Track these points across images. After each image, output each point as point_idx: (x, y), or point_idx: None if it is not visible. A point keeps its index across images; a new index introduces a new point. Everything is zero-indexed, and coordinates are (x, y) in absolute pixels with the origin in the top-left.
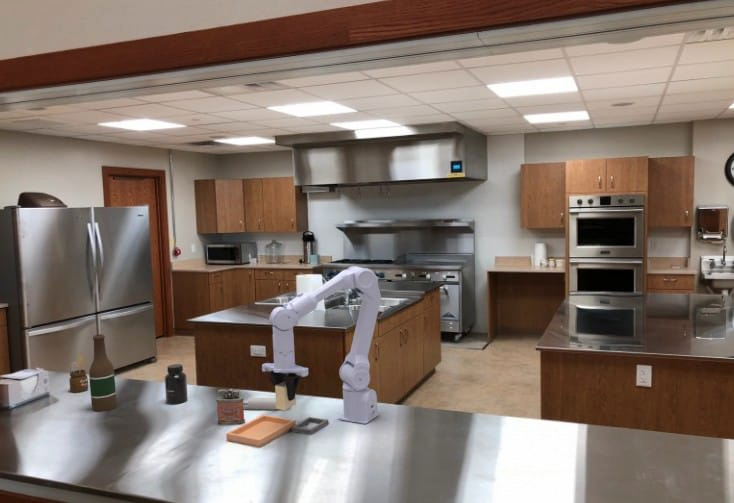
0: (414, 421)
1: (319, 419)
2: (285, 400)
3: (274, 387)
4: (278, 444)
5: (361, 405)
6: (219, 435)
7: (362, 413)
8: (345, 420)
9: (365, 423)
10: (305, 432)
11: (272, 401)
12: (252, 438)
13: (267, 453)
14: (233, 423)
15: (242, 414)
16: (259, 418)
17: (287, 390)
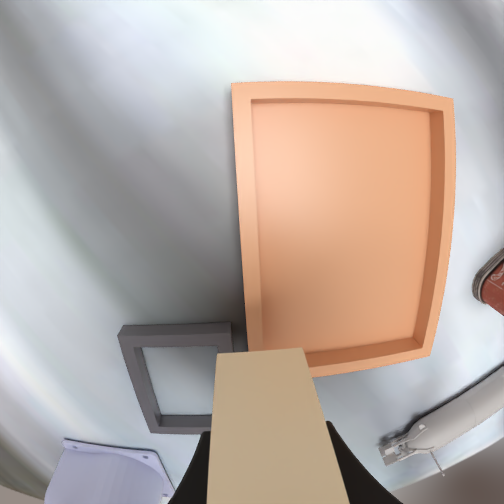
0: (15, 458)
1: (183, 428)
2: (213, 413)
3: (378, 486)
4: (175, 168)
5: (66, 486)
6: (486, 144)
7: (70, 467)
8: (125, 449)
9: (63, 440)
10: (151, 328)
11: (439, 433)
12: (290, 86)
13: (151, 65)
14: (498, 256)
15: (497, 298)
16: (427, 320)
17: (205, 498)
